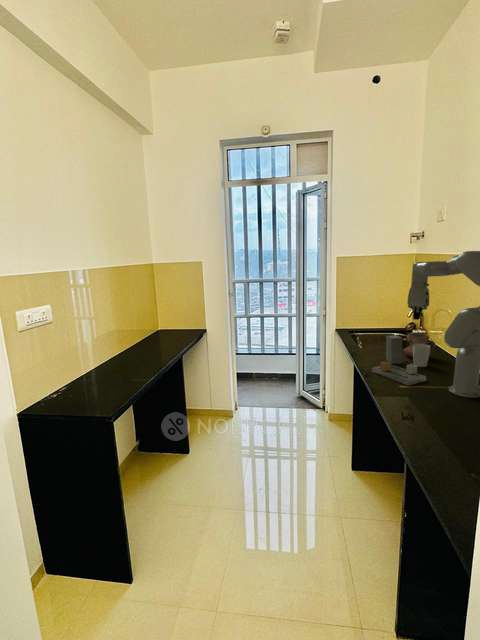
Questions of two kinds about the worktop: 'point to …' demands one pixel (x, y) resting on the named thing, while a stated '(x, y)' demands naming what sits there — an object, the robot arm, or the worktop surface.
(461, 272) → the robot arm
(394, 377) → the console
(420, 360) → the cup
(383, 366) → the fader orange
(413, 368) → the fader white
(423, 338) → the ceramic jug
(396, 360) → the skincare box
